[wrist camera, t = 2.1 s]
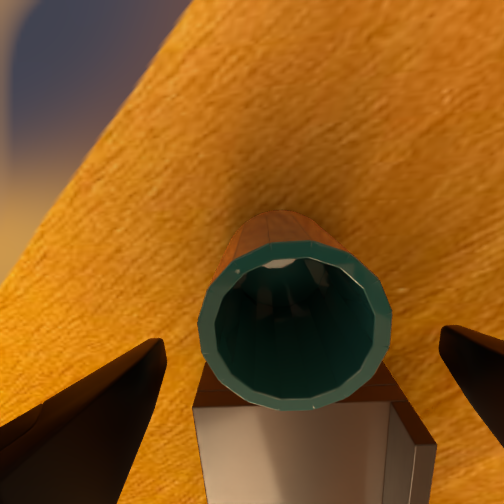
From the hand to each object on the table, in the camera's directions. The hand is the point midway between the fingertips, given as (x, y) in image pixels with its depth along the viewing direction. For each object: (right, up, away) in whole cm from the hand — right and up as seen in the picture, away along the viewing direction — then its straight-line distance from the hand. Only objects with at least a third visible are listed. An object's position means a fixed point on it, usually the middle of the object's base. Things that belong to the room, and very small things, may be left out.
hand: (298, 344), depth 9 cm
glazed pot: (0, +2, +8) cm, 9 cm away
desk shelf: (+2, -14, +13) cm, 19 cm away
